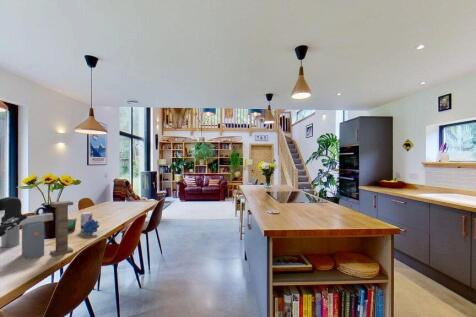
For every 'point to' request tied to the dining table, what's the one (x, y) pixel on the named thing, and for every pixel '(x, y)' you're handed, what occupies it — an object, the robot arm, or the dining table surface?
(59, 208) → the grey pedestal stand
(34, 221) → the steel spout bar
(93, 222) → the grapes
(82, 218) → the supplement can
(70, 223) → the food container
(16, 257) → the dining table surface
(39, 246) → the block
